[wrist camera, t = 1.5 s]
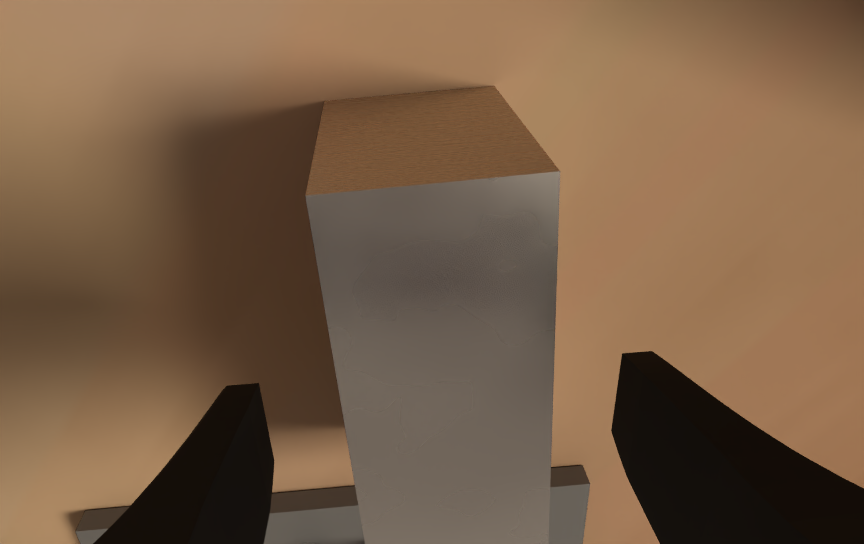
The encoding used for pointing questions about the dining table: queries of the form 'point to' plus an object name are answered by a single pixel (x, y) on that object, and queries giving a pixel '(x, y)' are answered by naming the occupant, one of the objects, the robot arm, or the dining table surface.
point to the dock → (341, 524)
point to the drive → (440, 311)
